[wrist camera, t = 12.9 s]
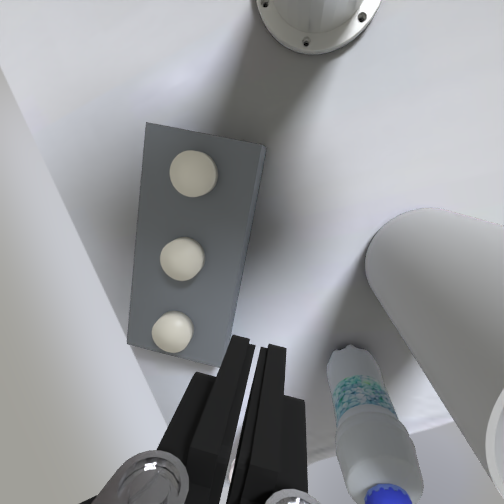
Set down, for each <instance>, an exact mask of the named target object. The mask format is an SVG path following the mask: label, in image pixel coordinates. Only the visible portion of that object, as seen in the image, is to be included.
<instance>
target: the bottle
mask: <svg viewBox="0 0 504 504" xmlns="http://www.w3.org/2000/svg"><path fill="white" fill-rule="evenodd" d="M327 377H328V383H329V386H330V390H331V394H332V399H333V405H334V412H335V418H336V425H337V431H336V436H335V442H336V454H337V458H338V461H339V464H340V467H341V471H342V474H343V477H344V481H345V484H346V488H347V490H348V493H349V494H350V496H351V497H352V499H353V500H354V501H355V502H356V503H357V504H416V503H417V502H418V501H419V500H420V498H421V496H422V493H423V488H424V485H423V479H422V475H421V471H420V467H419V463H418V459H417V455H416V450H415V446H414V444H413V441H412V440H411V438H410V437H409V434H408V432H407V430H406V428H405V427H404V425H403V424H402V423H401V422H400V421H399V420H398V417H397V415H396V412H395V410H394V407H393V405H392V402H391V400H390V397H389V395H388V393H387V390H386V388H385V385H384V381H383V378H382V374H381V371H380V369H379V366H378V364H377V362H376V361H375V359H374V358H373V356H372V355H371V353H369V352H368V351H367V350H366V349H358V348H356V347H355V346H353V345H347V346H346V348H345V349H342V350H334V352H333V353H332V354H331V357H330V360H329V363H328V364H327Z"/></svg>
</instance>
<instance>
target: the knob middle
mask: <svg viewBox="0 0 504 504" xmlns="http://www.w3.org/2000/svg"><path fill="white" fill-rule="evenodd" d="M160 263H161V266H162V268H163V270H164V272H165V273H166V274H167V275H168V276H169V277H171V278H173V279H175V280H179V281H186V280H189V279H191V278H193V277H194V276H195V275H196V274H197V273H198V272H199V271H200V270H201V269H202V268H203V266H204V263H205V253H204V250H203V248H202V246H201V245H200V244H199V243H198V242H197V241H196V240H194V239H192V238H189V237H180V238H177V239H175V240H173V241H171V242H170V243H168V244H167V245H166V246H165V247H164V248H163V249H162V251H161V255H160Z"/></svg>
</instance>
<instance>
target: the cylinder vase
mask: <svg viewBox="0 0 504 504" xmlns="http://www.w3.org/2000/svg"><path fill="white" fill-rule="evenodd" d="M365 271H366V276H367V280H368V283H369V285H370V287H371V289H372V290H373V292H374V294H375V295H376V297H377V298H378V300H379V302H380V303H381V305H382V306H383V308H384V310H385V311H386V313H387V314H388V316H389V318H390V319H391V321H392V322H393V324H394V326H395V327H396V329H397V330H398V332H399V334H400V335H401V337H402V338H403V340H404V341H405V343H406V345H407V346H408V348H409V349H410V351H411V353H412V354H413V356H414V357H415V359H416V361H417V362H418V364H419V365H420V367H421V369H422V370H423V372H424V373H425V375H426V377H427V378H428V380H429V381H430V383H431V385H432V386H433V388H434V389H435V391H436V393H437V394H438V396H439V397H440V399H441V401H442V402H443V404H444V405H445V407H446V408H447V410H448V412H449V413H450V415H451V416H452V418H453V420H454V421H455V423H456V424H457V426H458V428H459V429H460V431H461V432H462V434H463V435H464V437H465V439H466V440H467V442H468V444H469V445H470V447H471V448H472V450H473V451H474V453H475V455H476V456H477V458H478V459H479V461H480V463H481V464H482V466H483V468H484V469H485V471H486V472H487V474H488V476H489V477H490V478H491V480H492V482H493V483H494V485H495V487H496V488H497V490H498V491H499V493H500V495H501V496H502V497H503V499H504V225H500V224H497V223H493V222H489V221H486V220H482V219H478V218H474V217H471V216H467V215H463V214H460V213H456V212H452V211H449V210H445V209H439V208H420V209H415V210H411V211H408V212H405V213H402V214H400V215H398V216H396V217H395V218H393V219H391V220H390V221H389V222H387V223H386V224H385V225H384V226H383V227H382V228H381V229H380V230H379V231H378V232H377V233H376V235H375V236H374V238H373V239H372V241H371V243H370V245H369V248H368V251H367V254H366V260H365Z"/></svg>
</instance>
